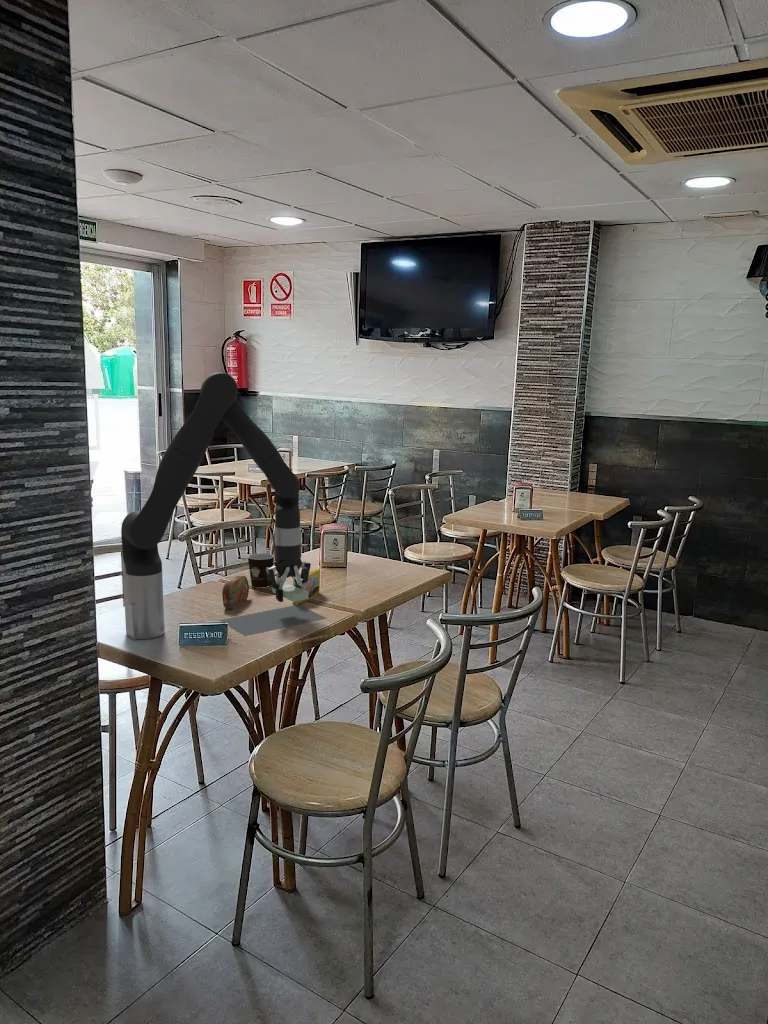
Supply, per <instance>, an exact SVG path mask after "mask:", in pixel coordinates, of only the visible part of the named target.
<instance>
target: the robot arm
mask: <svg viewBox="0 0 768 1024" xmlns="http://www.w3.org/2000/svg"><path fill="white" fill-rule="evenodd" d="M198 396H199V397H198V398H197V401H196V403H195V405H194V408H193V410H192V412H191V413H190V415H189V417H188V418H187V419H186V421H185V422H183V424H182V426H181V427H180V428H179V430H178V431H177V432H176V434H175V435H174V437H173V438H172V439H171V442H170V443H169V445H168V446H167V448H166V450H165V452H164V454H163V456H162V457H161V460H160V462H159V465H158V468H157V471H156V475H155V479H154V483H153V488H152V490H151V492H150V495H149V496H148V499H147V500H146V502H145V504H144V505H143V507H142V509H141V510H134V511H131V512H129V513H128V514H127V515H126V516H125V517H124V519H123V520H122V523H121V527H120V528H121V529H120V534H121V536H120V537H121V547H122V548H121V549H122V559H123V560H122V561H123V563H124V566H125V567H124V568H125V584H126V587H125V588H126V599H124V617H125V634H126V635H127V636H128V637H129V638H130V639H132V640H147V639H153V638H158V637H160V636H163V635H164V634H165V633H166V632H165V607H164V585H163V584H164V582H163V580H164V579H163V562H162V560H161V556H160V553H159V547H158V545H159V544H160V543H161V541H162V540H163V538H164V535H165V533H166V530H167V528H168V525H169V523H170V521H171V518H172V516H173V514H174V511H175V509H176V507H177V505H178V503H179V501H180V500H181V498H182V496H183V494H184V493H185V492H186V489H187V487H188V486H189V484H190V482H191V480H192V479H193V477H194V475H195V474H196V472H197V471H198V469H199V467H200V465H201V462H202V461H203V459H204V456H205V454H206V452H207V451H208V448H209V446H210V444H211V440H212V438H213V435H214V434H215V431H216V428H217V427H218V425H220V423H221V421H223V422H224V423H225V425H226V426H227V427H228V428H229V429H230V430H231V432H233V435H235V437H236V438H237V440H238V441H239V443H240V444H241V445H242V446H243V448H244V449H245V451H246V452H247V453H248V455H249V456H250V458H251V459H252V460H253V462H254V463H255V464H256V466H257V467H258V468H259V469H260V470H261V472H262V473H263V475H264V476H265V477H266V479H267V480H268V482H269V484H270V485H271V487H272V488H273V490H274V497H275V499H274V500H275V513H274V515H275V516H274V517H275V518H274V522H275V523H274V526H275V529H274V558H275V561H274V562H275V564H274V565H273V567H270V568H268V567H267V568H266V569H265V571H266V575H267V579H268V583H269V586H270V588H271V589H272V588H274V589H276V594H275V599H276V600H277V601H278V602H280V603H282V602H284V597H283V589H282V588H283V585H284V583H286V581H287V579H288V578H290V577H291V578H292V579H293V580H294V583H295V585H294V586H295V587H298V588H300V589H301V586H302V584H304V583H307V581H308V576H309V572H310V571H311V565H312V564H311V563H310V562H308V561H306V560H305V561H302V531H301V513H300V512H301V511H300V510H301V509H300V503H299V499H300V495H299V494H300V490H301V483H300V482H301V481H300V480H299V478H298V476H297V475H296V474H295V473H294V472H293V471H292V470H291V468H290V467H289V466H288V465H287V463H286V462H285V461H284V459H283V457H282V455H281V453H280V452H279V450H278V449H277V447H276V446H275V445H274V443H273V442H272V440H271V439H270V438H269V437H268V436H267V435H266V433H265V432H264V431H263V430H262V429H261V428H260V427H259V426H258V425H257V424H256V423H255V422H254V421H253V420H252V418H250V416H249V415H248V414H247V412H246V410H245V409H244V408H243V406H242V405H241V403H240V401H239V400H238V398H237V397H238V384H237V382H236V380H235V378H234V377H233V376H232V375H230V374H229V373H227V372H221V371H220V372H215V373H212V374H210V375H208V377H207V378H206V379H204V381H203V382H202V384H201V387H200V395H198ZM300 569H301V571H300ZM276 572H277V573H276ZM275 574H277V576H274V575H275ZM293 580H292V581H293Z"/></svg>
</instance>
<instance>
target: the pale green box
mask: <svg viewBox="0 0 768 1024" xmlns="http://www.w3.org/2000/svg"><path fill="white" fill-rule="evenodd" d="M271 589H272V590H271V591H272V593H273V594H275V595H276V589H274V588H272V587H271ZM282 589H283V599H286V600H288V601H290V602H292V603H293V602H295V601H300V600H306V599H308V592H307V591H305V590H302V589H300V588H298V587H295V586H293V584H290V583H288V582H284V585H283V588H282Z"/></svg>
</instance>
